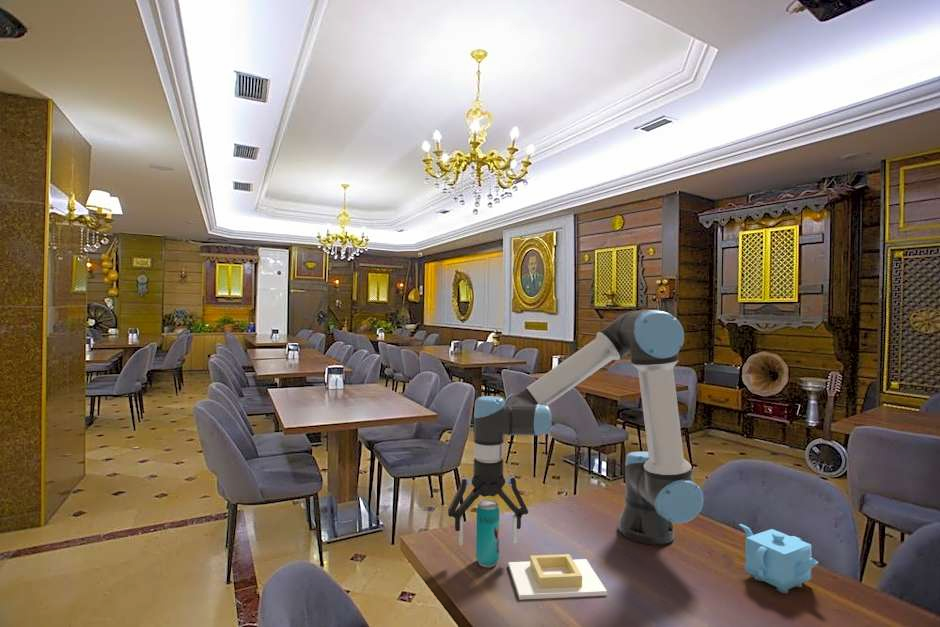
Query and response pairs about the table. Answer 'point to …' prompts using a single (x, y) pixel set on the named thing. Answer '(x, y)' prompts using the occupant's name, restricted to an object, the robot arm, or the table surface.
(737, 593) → the table surface
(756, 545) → the teapot
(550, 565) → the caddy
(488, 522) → the beverage can
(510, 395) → the robot arm
